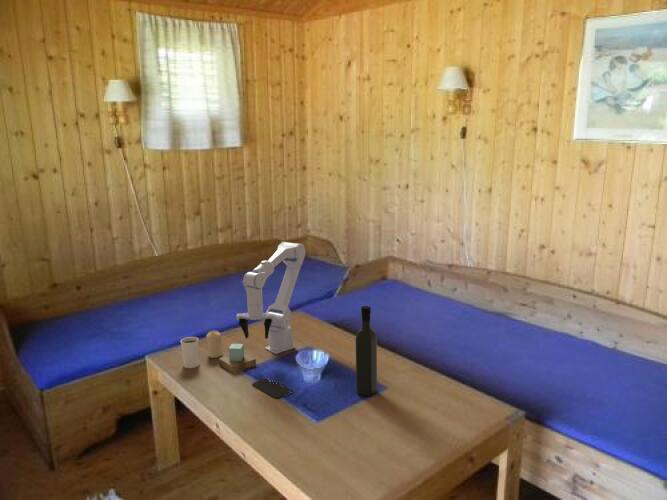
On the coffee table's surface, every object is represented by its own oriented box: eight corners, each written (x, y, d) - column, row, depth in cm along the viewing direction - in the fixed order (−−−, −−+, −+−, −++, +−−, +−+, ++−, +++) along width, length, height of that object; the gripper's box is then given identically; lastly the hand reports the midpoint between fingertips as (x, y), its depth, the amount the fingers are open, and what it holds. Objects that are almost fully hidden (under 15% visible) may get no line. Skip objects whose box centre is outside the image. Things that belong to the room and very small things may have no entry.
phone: (267, 377, 195) (294, 390, 185) (267, 379, 196) (294, 393, 185) (250, 383, 191) (276, 398, 180) (250, 386, 191) (276, 400, 180)
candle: (220, 358, 214) (218, 333, 211) (206, 358, 214) (204, 334, 212) (223, 352, 219) (221, 328, 217) (209, 352, 219) (208, 328, 217)
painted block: (232, 355, 209) (231, 343, 208) (244, 356, 209) (243, 343, 208) (229, 360, 205) (228, 348, 204) (241, 361, 204) (240, 348, 203)
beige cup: (203, 362, 210) (201, 337, 208) (195, 369, 204) (192, 344, 202) (188, 360, 212) (186, 336, 210) (179, 367, 206) (176, 342, 204)
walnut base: (242, 358, 214) (241, 351, 213) (256, 366, 207) (255, 358, 206) (219, 365, 208) (218, 358, 207) (232, 374, 200) (232, 366, 200)
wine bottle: (363, 387, 187) (362, 303, 180) (378, 390, 184) (377, 305, 178) (355, 394, 182) (353, 308, 176) (370, 398, 179) (369, 311, 173)
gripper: (233, 306, 202) (235, 341, 205) (271, 307, 201) (273, 341, 204) (238, 300, 209) (240, 334, 212) (275, 301, 208) (277, 334, 211)
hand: (256, 337), depth 208 cm, fingers open, 7 cm apart
